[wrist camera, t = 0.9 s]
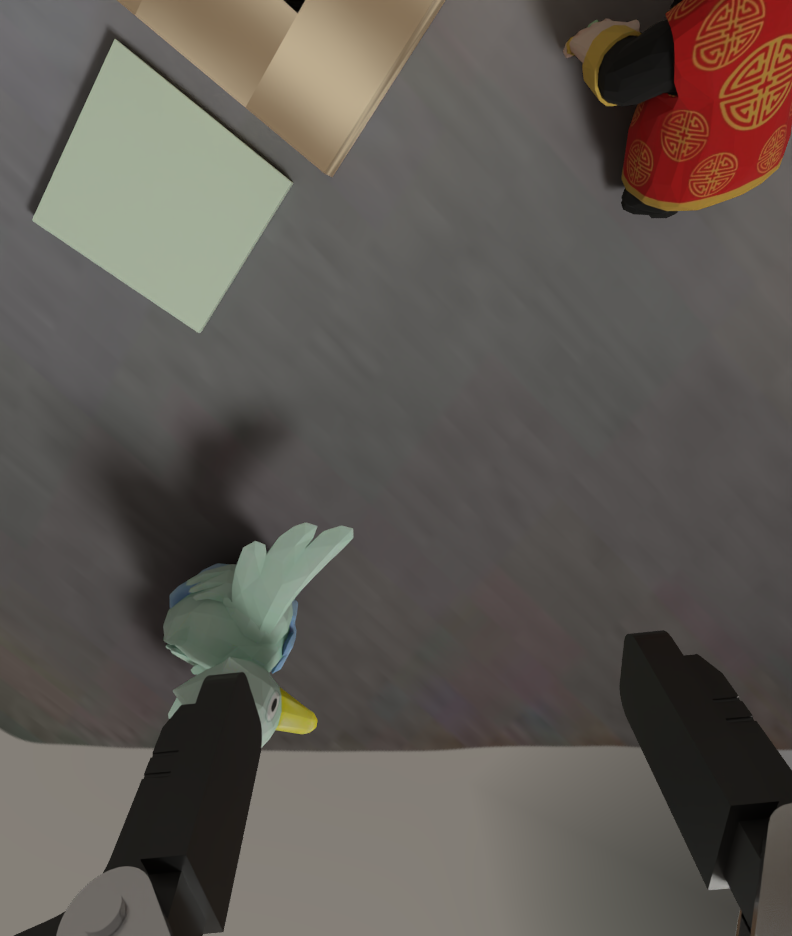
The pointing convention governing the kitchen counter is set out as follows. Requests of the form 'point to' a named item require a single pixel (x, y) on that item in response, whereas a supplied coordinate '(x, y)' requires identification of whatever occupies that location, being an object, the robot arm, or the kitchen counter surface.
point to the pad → (159, 191)
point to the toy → (250, 621)
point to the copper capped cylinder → (295, 4)
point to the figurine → (695, 99)
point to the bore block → (297, 59)
